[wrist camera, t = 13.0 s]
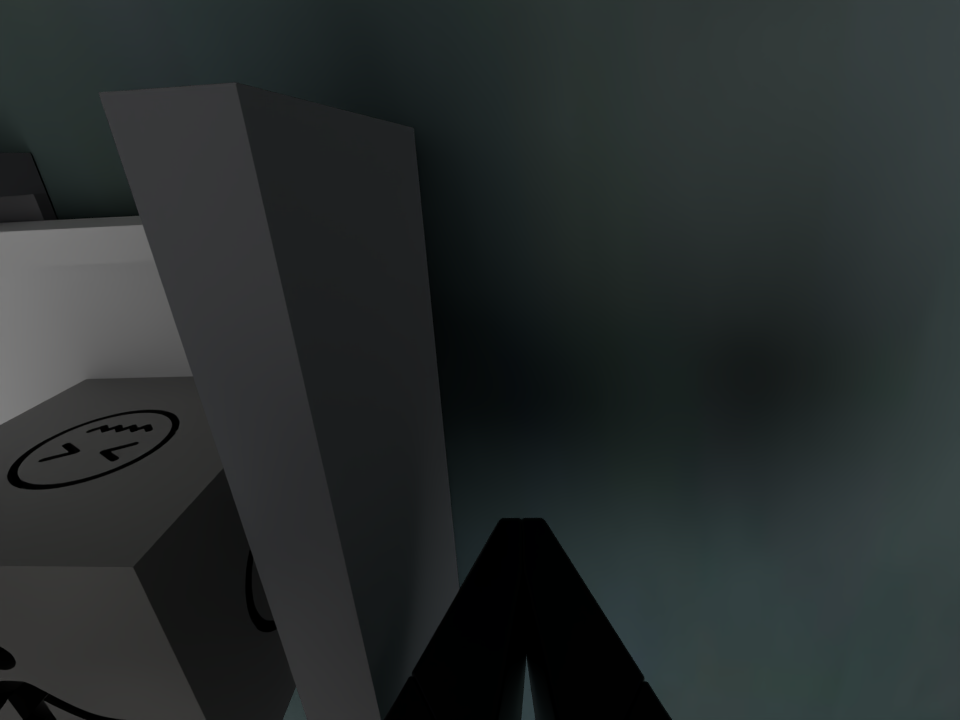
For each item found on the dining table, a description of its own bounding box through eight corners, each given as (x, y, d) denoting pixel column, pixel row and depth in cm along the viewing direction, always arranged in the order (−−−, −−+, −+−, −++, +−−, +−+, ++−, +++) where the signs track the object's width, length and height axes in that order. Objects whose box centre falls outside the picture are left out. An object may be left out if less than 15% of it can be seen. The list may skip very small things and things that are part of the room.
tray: (413, 128, 9) (235, 82, 3) (463, 625, 15) (431, 939, 9) (-134, 162, 10) (-1053, 177, 4) (110, 618, 16) (-131, 899, 10)
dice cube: (162, 551, 12) (-48, 791, 8) (86, 378, 10) (-260, 563, 6) (349, 552, 12) (247, 806, 7) (309, 373, 10) (132, 567, 5)
